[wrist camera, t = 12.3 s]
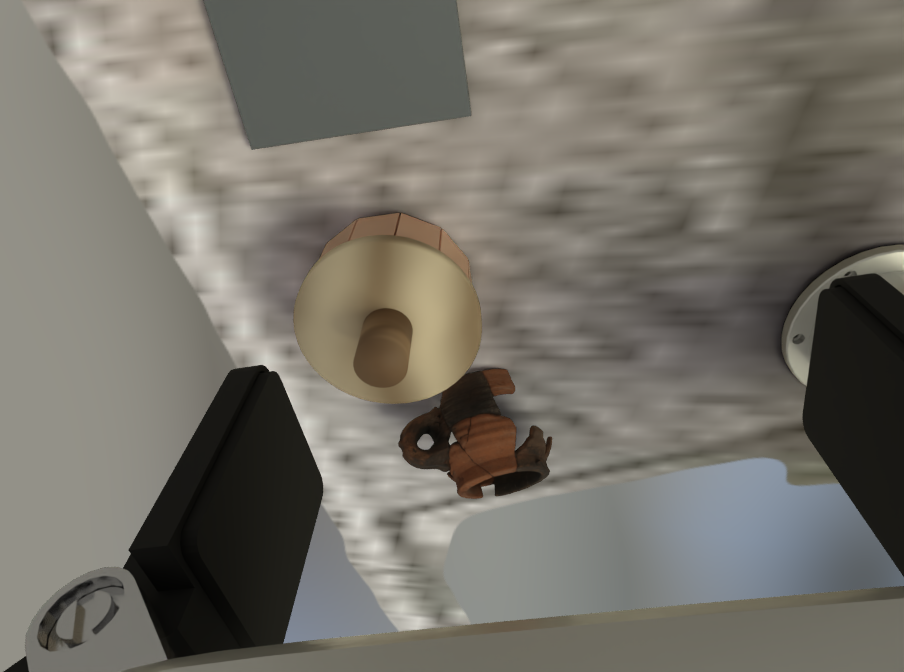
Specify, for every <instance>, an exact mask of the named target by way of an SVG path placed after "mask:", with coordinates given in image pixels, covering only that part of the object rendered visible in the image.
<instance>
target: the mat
mask: <svg viewBox="0 0 904 672" xmlns="http://www.w3.org/2000/svg"><path fill="white" fill-rule="evenodd" d="M203 1H204V4H205V7H206V10H207V13H208V16H209V19H210V23H211V26H212V29H213V32H214V35H215V38H216V41H217V44H218V47H219V50H220V53H221V56H222V60H223V63H224V66H225V69H226V72H227V75H228V78H229V81H230V84H231V87H232V90H233V94H234V97H235V100H236V103H237V106H238V109H239V112H240V115H241V118H242V121H243V124H244V127H245V131H246V134H247V137H248V140H249V143H250V146H251V149H252V150H253V149H260V148H266V147H273V146H279V145H286V144H292V143H299V142H305V141H312V140H318V139H325V138H331V137H338V136H344V135H351V134H357V133H364V132H370V131H377V130H383V129H390V128H396V127H403V126H409V125H416V124H422V123H429V122H435V121H442V120H448V119H455V118H461V117H468V116H471V108H470V101H469V93H468V86H467V78H466V71H465V63H464V55H463V48H462V40H461V33H460V25H459V18H458V10H457V3H456V0H203Z"/></svg>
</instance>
